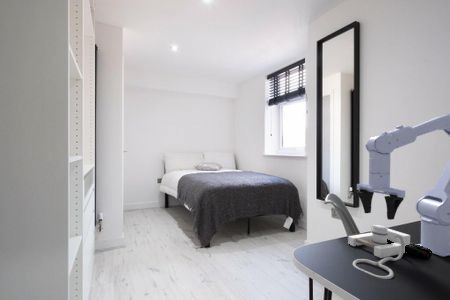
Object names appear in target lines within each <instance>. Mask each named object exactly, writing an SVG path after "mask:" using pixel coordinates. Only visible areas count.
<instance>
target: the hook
mask: <svg viewBox="0 0 450 300" xmlns="http://www.w3.org/2000/svg"><path fill="white" fill-rule="evenodd" d="M394 238H399V239H400V241H401V250H400V253H399V254H397V257H395V258H394V257H392V256H388V257H383V258H381V260H379V261H373V260H371V259H366V258H357V259H355V260H354V261H353V262H352V266H353V267H354V268H355V269H357V270H359V271H362V272H363V273H366V274H367V275H370V276H372V277H375V278H379V279H383V280H390V279H392V278H394V276H395V275H394V271H393V270H392V269H391V268H390V267H389V266H387V265H383V264H384V263H386V262H388V261H392V262H395V261H398V260H401V258H402V257H403V255H404V253H403V252H404V240H403V238H402V237H401V236H400V235H396V236H394ZM358 263H367V264H371V265H374V266H378V267H379V268H381V269H384V270H385V271H387V272H388V273H389V274H388V275H377V274H374V273H373V272H370V271H367V270H365V269H363V268H360V267H358V266H357V264H358Z"/></svg>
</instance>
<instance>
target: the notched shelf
mask: <svg viewBox="0 0 450 300" xmlns="http://www.w3.org/2000/svg"><path fill="white" fill-rule="evenodd" d="M373 225H374V224H373ZM373 225H372V224H371V225H370V232H367V233H361V234H355V235H349V236H347V244H348V245H349V244H350V246H352V247H357V246H363V245H364V246H367V247H368V248H372V249H373V255H374V257H375V256H376V257H377V258H380V259H384V258H387V257H392V256H396V255H397V256H398V255H399V253H400V250H401V241H400V239H399V238H394V236H396V235H400V236H401V237H402V238H403V240H404V252H403V254H405V246H406V245H409V244H410V245H411V235H410V234H407V233H404V232H401V231H397V230H394V229H390V228H388V227H387V233H388V235H387V239H388V240H390V241H392V242H394V243H391V244H386V245H380V246H377V245H374V244H372V227H373ZM356 245H357V246H356Z"/></svg>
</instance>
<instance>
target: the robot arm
mask: <svg viewBox="0 0 450 300" xmlns="http://www.w3.org/2000/svg"><path fill="white" fill-rule="evenodd" d="M395 128H396V129H391V130H390V131H382V132H381V135H376V136H372V137H370V138H369V139H368V140H367V142H366V144H365V150H366V151H367V152H368V156H369V158H368V184H364V183H357V184H356V190H357V191H356V194H357V196H358V197H359V200H360V201H361V204H362V207H363V212H364V214H371V213H372V201H373V196H374V194H375V193H376V194H381V195H385V196H384V201H385V204H386V217H387V218H386V219H387V220H390V221H392V220H395V216H396V214H397V212H398V209H399V207H400V205H401V204H402V202H403V201H404V199H405V198H406V190H404V189H399V188H398V189H397V188H393V187H391V153H393V152H394V150H396V149H399V148H402V147H405V146H408V145H409V144H412V143H415V142H416V140H417V138H418V137H419V136H423V135H425V134H429V133H432V132H435V131H438V130H439V131H443V132H444V133H445V134H446V135H448V137H450V113H447V114H444V115H440V116H436V117H434V118H431V119H429V120H427V121H423V122H421V123H419V124H417V125H414V126H408V125H402V124H400V125H398V126H396V127H395ZM415 211H416V212H417V213H418V214H419V215H420V216H419V218H420V243H418V244H416V245H420V246H423V247H426V248H428V249H430V250H431V251H432V253H431V254H434V255H438V256H440V257H447V256H450V158H449V159H448V161H447V163H446V165H445V167H444V169H443V171H442V172H441V175H440V176H439V177H438V180H437V182H436V184H435V185H434V187H433V188H432V189H430V190H428V191H426V192H425V193H424V195H423V196H422V197H421V198H419V199H418V200H417V202H416V203H415Z"/></svg>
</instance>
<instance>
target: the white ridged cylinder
mask: <svg viewBox="0 0 450 300" xmlns="http://www.w3.org/2000/svg"><path fill="white" fill-rule="evenodd" d="M387 228H388V227H387V226H384V225H380V224H379V225H378V224H373V227H372V244H374V245H377V246H380V245H386V244H387V243H388V242H387V235H388V233H387Z"/></svg>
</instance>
